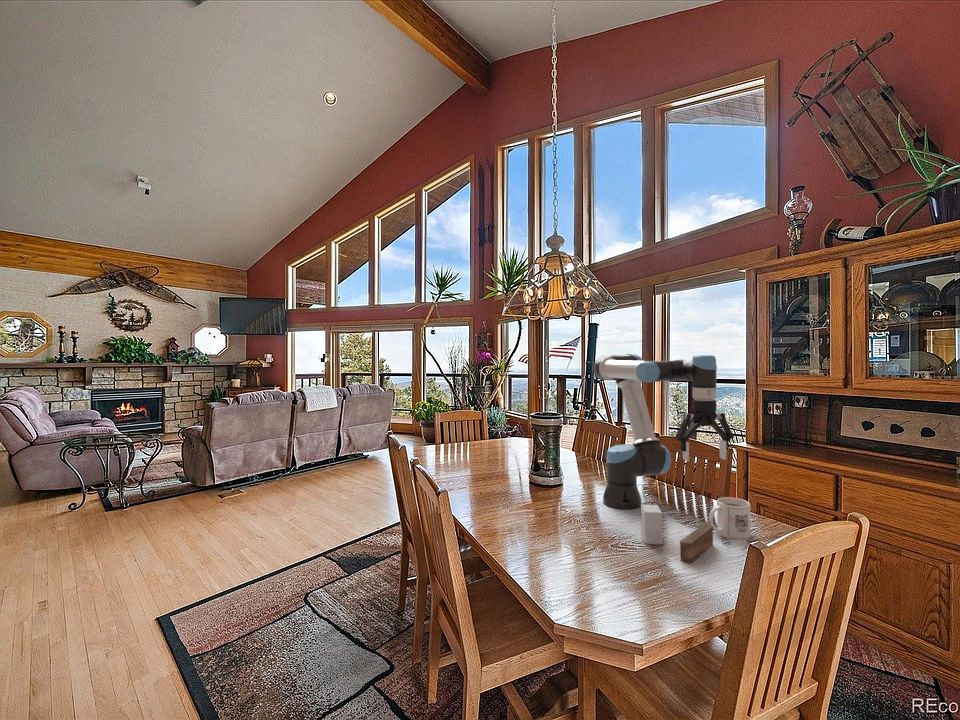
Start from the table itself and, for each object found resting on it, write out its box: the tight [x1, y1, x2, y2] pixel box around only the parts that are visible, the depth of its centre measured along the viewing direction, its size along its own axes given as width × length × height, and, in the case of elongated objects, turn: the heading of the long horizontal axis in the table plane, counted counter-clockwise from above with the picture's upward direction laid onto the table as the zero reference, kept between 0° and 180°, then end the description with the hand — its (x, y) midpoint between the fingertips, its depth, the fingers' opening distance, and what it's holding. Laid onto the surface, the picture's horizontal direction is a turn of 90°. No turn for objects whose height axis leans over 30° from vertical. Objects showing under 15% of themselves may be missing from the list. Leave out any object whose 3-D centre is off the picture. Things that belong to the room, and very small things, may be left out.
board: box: [679, 523, 714, 565], centre depth 139 cm, size 3×18×6 cm, turn 134°
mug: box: [708, 496, 752, 541], centre depth 152 cm, size 10×12×11 cm
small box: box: [640, 503, 664, 545], centre depth 150 cm, size 8×6×10 cm
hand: (704, 459), depth 158 cm, fingers open, 13 cm apart
